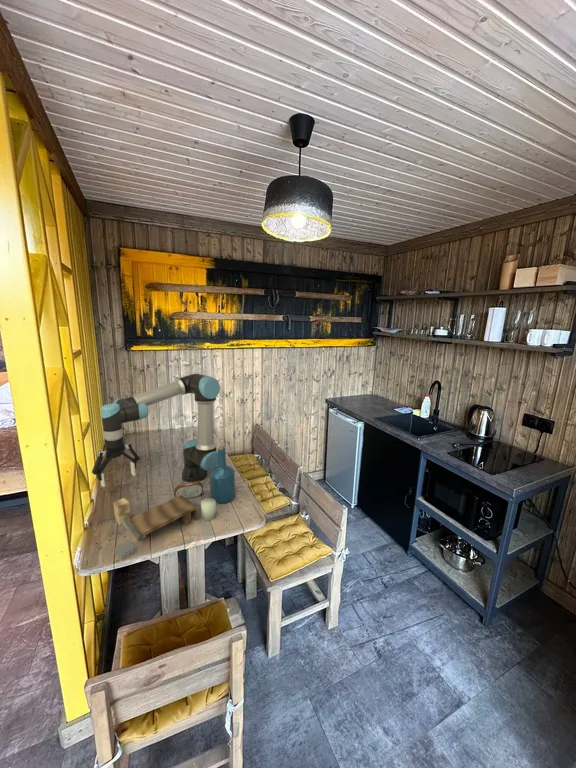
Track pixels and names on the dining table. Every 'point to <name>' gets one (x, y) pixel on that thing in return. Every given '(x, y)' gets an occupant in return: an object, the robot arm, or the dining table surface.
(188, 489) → the tin
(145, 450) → the dining table surface
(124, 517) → the tool
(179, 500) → the shelf
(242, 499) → the dining table surface
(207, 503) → the cream cylinder
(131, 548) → the grey stone block
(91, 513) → the dining table surface
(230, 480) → the wine bottle
